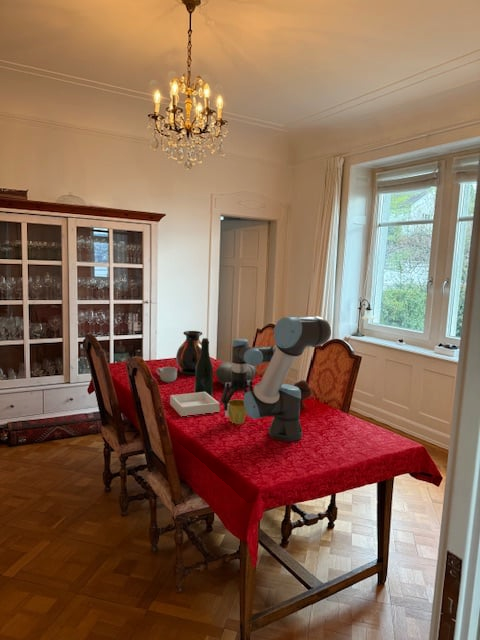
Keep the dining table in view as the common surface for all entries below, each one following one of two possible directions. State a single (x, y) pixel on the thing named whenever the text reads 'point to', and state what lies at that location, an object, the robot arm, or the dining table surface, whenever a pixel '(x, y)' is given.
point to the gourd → (226, 368)
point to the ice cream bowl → (303, 391)
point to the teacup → (167, 373)
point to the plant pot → (237, 411)
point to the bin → (194, 403)
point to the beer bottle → (204, 370)
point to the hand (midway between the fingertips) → (237, 415)
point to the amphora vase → (189, 353)
